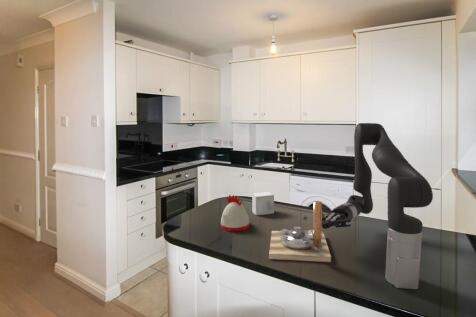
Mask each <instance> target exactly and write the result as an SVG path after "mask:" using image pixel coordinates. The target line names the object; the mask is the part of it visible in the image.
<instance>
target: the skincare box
mask: <svg viewBox="0 0 476 317" xmlns="http://www.w3.org/2000/svg"><path fill="white" fill-rule="evenodd" d="M251 195H252V196H251V199H252V202H251V204H252V205H251V206H252V207H251V208H252V210H251V212H252V213H253V214H254V215H255V216H263V215H270V214H275V194H273V193H272V192H271V191H266V192H265V191H264V192H255V193H252V194H251Z"/></svg>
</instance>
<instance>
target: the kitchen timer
mask: <svg viewBox="0 0 476 317" xmlns="http://www.w3.org/2000/svg"><path fill="white" fill-rule="evenodd" d="M226 201H227V203H228V204H227V205H226V206H225V207H224V209H223V212H222V215H221V218H220V228H221V229H222V230H224V231H229V232H239V231H245V230H247V229H248V228H250V225H251V224H250V223H251V222H250V218H249V214H248V211H247V210H246V208H245V206H243V205H242V203H243V200H241V201H240V197H239V198H238V197H237V195H234V194H233V195H231V194H229V195H228V196H227V197H226Z"/></svg>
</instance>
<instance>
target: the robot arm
mask: <svg viewBox="0 0 476 317" xmlns="http://www.w3.org/2000/svg"><path fill="white" fill-rule="evenodd" d="M353 140H354V141H353V144H354V145H353V146H354V149H353V150H354V151H353V152H354V178H353V186H352V187H353V190H354V191H355V192H357V193H359V194H360V195H361V196H360V195H356V194H352V195H350V196H349V197H348V199H347V201H346V202H345V203H341V204H340V205H337V206H335V207H334V208H333V209H332V210H331V212H329V213H327V214H325V213H323V212H322V229H324V230H327V229H331V228H333V227H335V228H348V227H351V226H352V221H353V220H355V218H357V217H358V216H359V215H361V214H363V215H369V214H370V213H372V211H373V208H374V202H373V197H372V196H373V195H372V190H371V189H372V178H373V173H372V168H371V167H370V165H369V163H368V161H367V159H366V157H365V154H364V146H374V147H373V150H372V152H371V158H372V161H373V163H374V165H375V166H376V168H377V169H378V171H379V172H381V173H382V174H384V175H385V176H388V177H390V179H389V181H388V184H387V238H386V257H385V271H384V272H385V273H384V275H385V277H384V278H385V280H386V281H387V283H389V284H390V285H393V286H394V287H395V288H396V289H408V290H419V283H420V282H419V281H420V267H421V254H422V251H421V250H422V240H423V238H422V236H423V222H422V221H421V220H420V219H419V218H418V217H415V216H413V215H409V214H406V213H405V208H408V209H409V208H419V209H420V208H425V207H426V208H427V207H428V206H430V205H431V204H432V202H433V199H434V194H433V189H432V187H431V184H430V183H429V181H428V179H427V178H426V177H424V176H423V175H422V174H421V173H420V172H419V171H418V170H417V169H416V168H414V166H412V165H411V163H409V161H408V160H407V159H406V158H405V156H404V155H403V153H402V152H401V151H400V150H399V148H398V147H397V146H396V145H395V144H394V142H393V141H392V140H391V139H390V137H389V135H388V133H387V131H386V130H385V128H384V126H383V125H382V124H381V123H377V122H376V123H375V122H374V123H373V122H365V123H364V122H362V123H361V122H360V123H358V124H356V126H355V129H354V136H353Z"/></svg>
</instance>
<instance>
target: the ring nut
mask: <svg viewBox="0 0 476 317" xmlns="http://www.w3.org/2000/svg"><path fill="white" fill-rule="evenodd" d="M312 204H313V205H312V206H313V207H312V208H313V209H312V213H313V214H312V229H308V230H305V229H304V230H303V229H302V227H301V226H294V227H293V228H294V229H287V228H283V229H280V231H281V244H282V245H283V246H285V247H287V248H290V249H296V250H306V249H311V248H314V249H315V250H317V251H319V250H322V246H321V240H322V233H323V231H322V229H323V228H322V213H323V201H319V200H315V201H313V202H312Z"/></svg>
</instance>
